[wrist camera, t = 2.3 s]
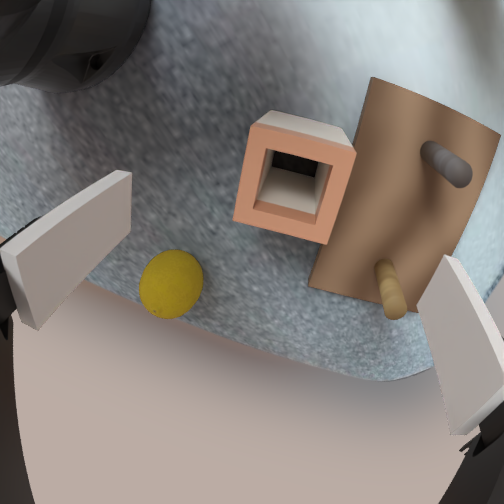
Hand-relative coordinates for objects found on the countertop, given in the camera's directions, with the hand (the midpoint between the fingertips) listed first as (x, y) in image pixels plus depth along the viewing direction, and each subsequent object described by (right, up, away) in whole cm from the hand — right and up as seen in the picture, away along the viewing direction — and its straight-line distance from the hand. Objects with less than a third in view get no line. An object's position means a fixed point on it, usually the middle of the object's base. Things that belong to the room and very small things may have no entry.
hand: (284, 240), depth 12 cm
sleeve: (+2, +8, +12) cm, 15 cm away
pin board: (+12, +3, +13) cm, 18 cm away
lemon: (-8, -1, +20) cm, 21 cm away
